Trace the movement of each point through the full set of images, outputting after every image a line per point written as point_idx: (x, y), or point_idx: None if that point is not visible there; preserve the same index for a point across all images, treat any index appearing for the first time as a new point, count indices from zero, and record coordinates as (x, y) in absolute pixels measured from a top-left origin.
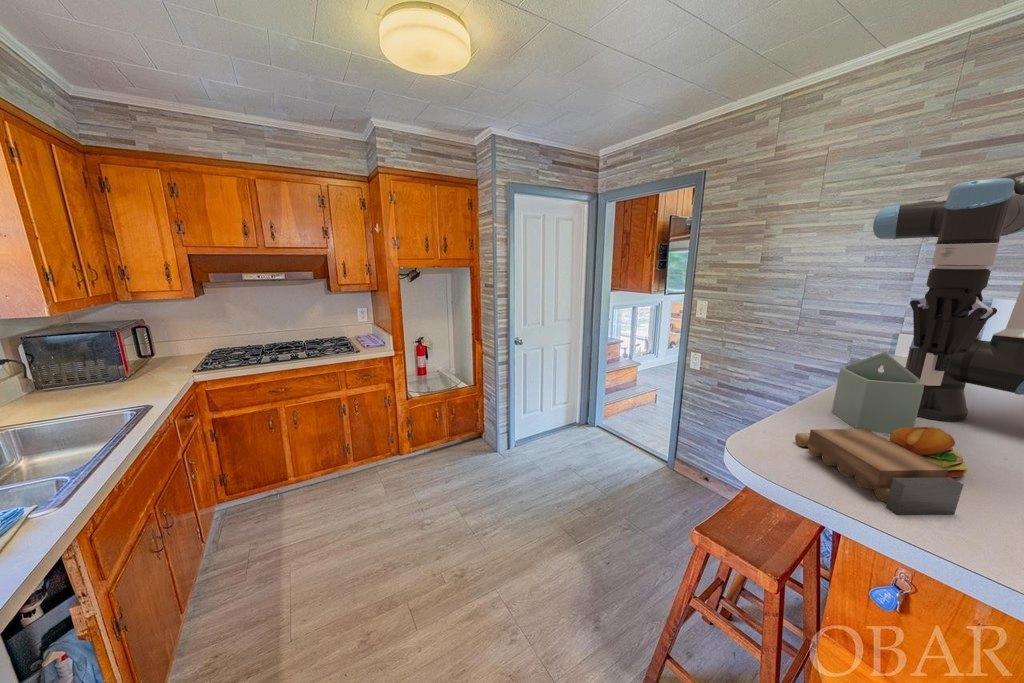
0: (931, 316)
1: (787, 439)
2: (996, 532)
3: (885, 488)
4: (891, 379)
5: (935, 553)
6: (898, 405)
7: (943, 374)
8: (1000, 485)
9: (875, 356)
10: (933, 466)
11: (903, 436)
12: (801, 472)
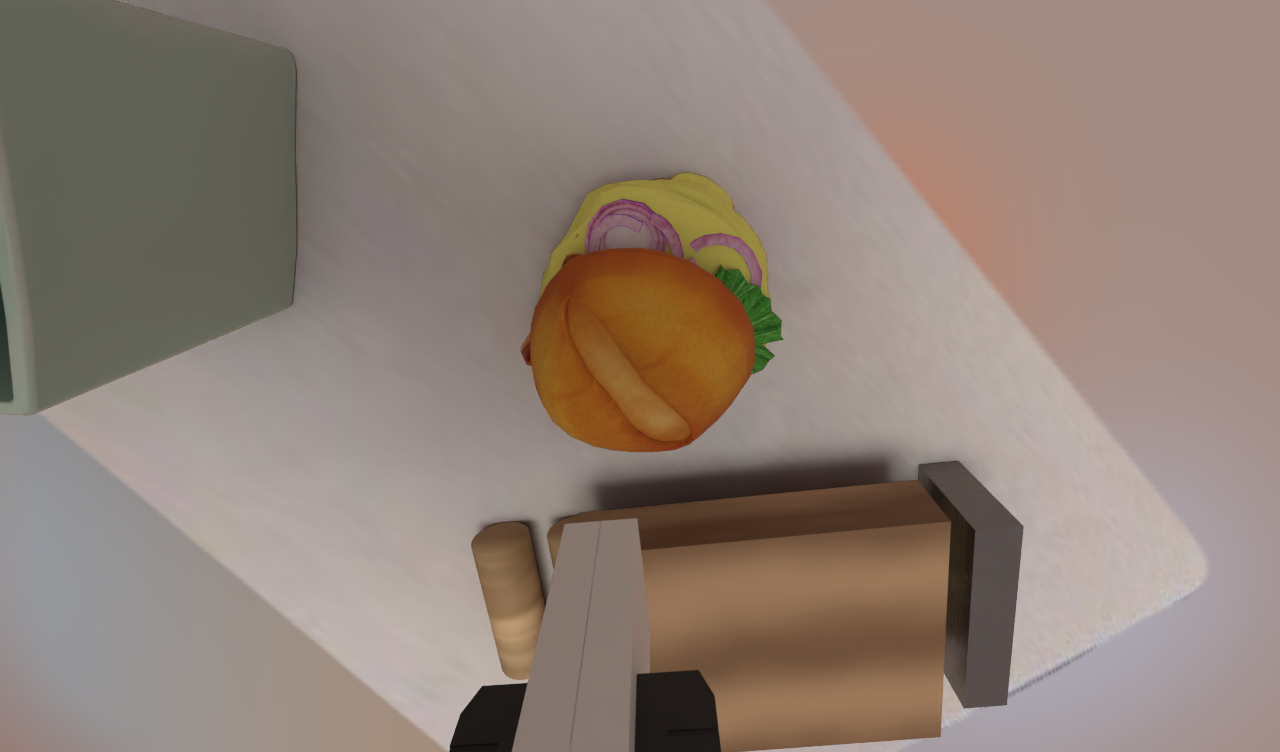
0: None
1: (482, 649)
2: (1045, 418)
3: None
4: None
5: (1097, 641)
6: (172, 153)
7: (634, 597)
8: (783, 97)
9: None
10: (922, 551)
11: (637, 445)
12: None
